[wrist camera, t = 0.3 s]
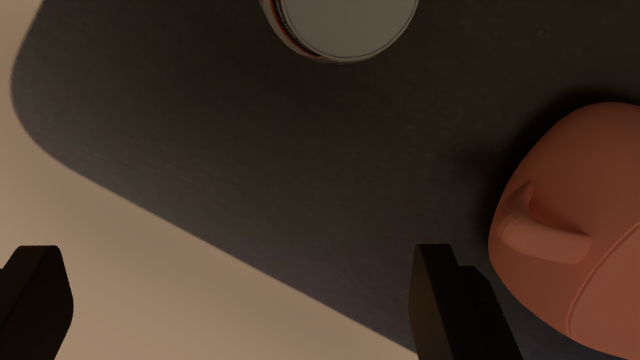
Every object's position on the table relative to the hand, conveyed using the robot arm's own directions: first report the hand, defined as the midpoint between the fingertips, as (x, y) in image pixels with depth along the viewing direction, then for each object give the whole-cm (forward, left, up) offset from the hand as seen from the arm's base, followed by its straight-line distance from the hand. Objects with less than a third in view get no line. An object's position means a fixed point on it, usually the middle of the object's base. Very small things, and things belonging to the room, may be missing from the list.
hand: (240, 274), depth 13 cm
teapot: (+11, +20, -21) cm, 31 cm away
